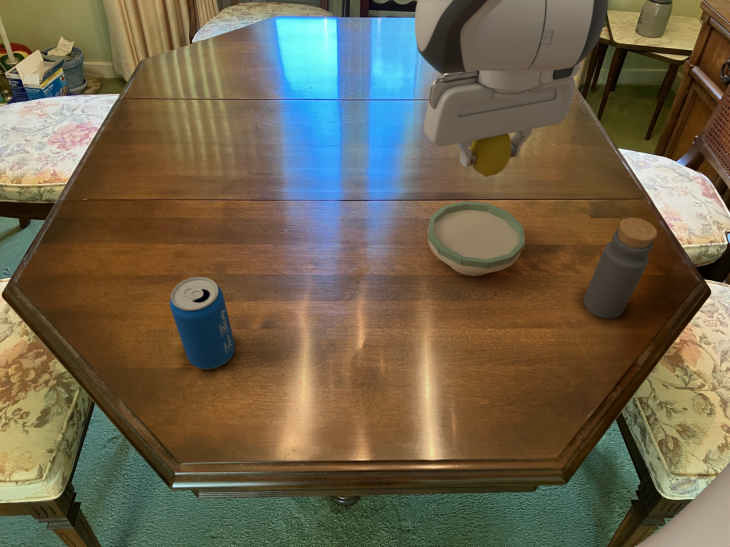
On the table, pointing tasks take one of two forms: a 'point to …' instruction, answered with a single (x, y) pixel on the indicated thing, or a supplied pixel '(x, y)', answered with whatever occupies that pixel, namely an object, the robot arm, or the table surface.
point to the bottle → (620, 268)
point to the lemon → (491, 154)
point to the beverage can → (202, 322)
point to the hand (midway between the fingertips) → (489, 159)
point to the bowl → (475, 237)
